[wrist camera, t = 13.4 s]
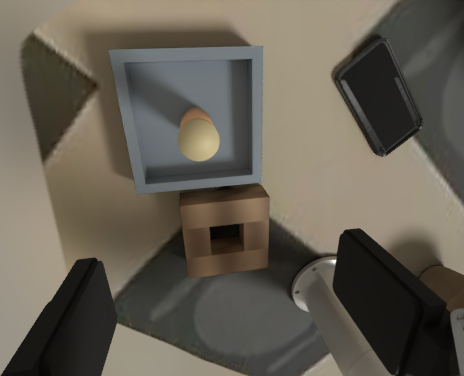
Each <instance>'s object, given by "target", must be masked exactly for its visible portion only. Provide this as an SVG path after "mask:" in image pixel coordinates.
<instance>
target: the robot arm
mask: <svg viewBox="0 0 464 376" xmlns="http://www.w3.org/2000/svg"><path fill="white" fill-rule="evenodd" d="M291 292H292V297H293V299H294V301H295V303H296V305H297V306H298V307H299V308H301V309H302V310H304V311H307V312H310V314H311V316H312V318H313V320H314V322H315V323H316V325H317V327H318V329H319V331H320V333H321V335H322V337H323V339H324V341H325V343H326V344H327V346H328V348H329V350H330V352H331V354H332V356H333V358H334V360H335V362H336V364H337V365H338V367H339V369H340V371H341V373H342V375H343V376H464V309H456V310H454V311H453V312H450V311H448V310H447V309H446V306H447V303H446V302H445V301H444V300H443V299H441V298H440V297H439V296H438V295H437V294H436V293H434V292H433V291H432V290H431V289H430V288H429V287H428V286H426V285H425V284H424V283H423V282H422V281H421V280H419V279H418V278H417V277H416V276H415V275H414V274H413V273H411V272H410V271H409V270H408V269H407V268H406V267H404V266H403V265H402V264H401V263H400V262H399V261H397V260H396V259H395V258H394V257H393V256H392V255H391V254H389V253H388V252H387V251H386V250H385V249H384V248H382V247H381V246H380V245H379V244H378V243H377V242H375V241H374V240H373V239H372V238H371V237H370V236H369V235H367V234H366V233H365V232H364V231H363V230H361V229H359V228H358V229H348V230H345V231H344V232H343V234H341V235H340V238H339V245H338V251H337V256H329V257H323V258H320V259H317V260H315V261H313V262H311V263H309V264H308V265H306V266H305V267H304V268H303V269H302V270H301V271H300V272H299V273H298V274H297V276H296V277H295V279H294V281H293V284H292V289H291ZM116 324H117V314H116V310H115V306H114V302H113V299H112V295H111V291H110V288H109V284H108V280H107V277H106V273H105V269H104V266H103V263H102V261H98V260H97V259H96V258H87V259H79V260H77V261H76V262H75V264H74V265H73V267H72V269H71V270H70V272H69V273H68V275H67V277H66V278H65V280H64V281H63V283H62V285H61V286H60V288H59V289H58V291H57V292H56V294H55V296H54V297H53V299H52V301H50V302H49V303H48V304H47V305H46V306H45V308H44V309H43V311H42V312H41V314H40V315H39V317H38V318H37V320H36V322H35V323H34V325H33V326H32V328H31V329H30V331H29V333H28V334H27V336H26V337H25V339H24V340H23V342H22V343H21V345H20V347H19V348H18V350H17V351H16V353H15V354H14V356H13V357H12V359H11V361H10V362H9V364H8V365H7V367H6V368H5V370H4V371H3V373H2V375H1V376H101V374H102V371H103V367H104V364H105V361H106V357H107V354H108V351H109V347H110V344H111V341H112V337H113V334H114V331H115V327H116Z"/></svg>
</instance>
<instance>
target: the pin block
mask: <svg viewBox="0 0 464 376" xmlns="http://www.w3.org/2000/svg"><path fill="white" fill-rule="evenodd" d="M269 201H270V197H269V195H268V194H267V192H266V191H265V190H264V188H263V187H262V186H253V187H243V188H232V189H222V190H212V191H201V192H191V193H181V194H180V204H179V207H180V215H181V222H182V230H183V238H184V245H185V253H186V261H187V268H188V276H189V279H191V278H198V277H205V276H212V275H219V274H226V273H233V272H240V271H248V270H255V269H262V268H268V242H269ZM231 224H239V236H236V237H228V238H220V239H212V240H210V230H209V227H213V226H222V225H231Z"/></svg>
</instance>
